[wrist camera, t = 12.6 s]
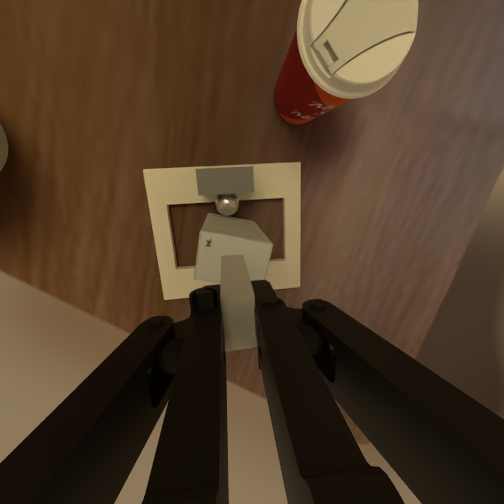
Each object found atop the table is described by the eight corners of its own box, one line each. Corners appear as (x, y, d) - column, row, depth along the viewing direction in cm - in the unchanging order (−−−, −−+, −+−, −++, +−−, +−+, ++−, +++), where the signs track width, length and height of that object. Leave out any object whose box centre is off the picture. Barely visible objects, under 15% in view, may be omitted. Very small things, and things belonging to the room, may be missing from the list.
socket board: (145, 169, 28) (127, 166, 23) (298, 162, 30) (314, 158, 24) (166, 296, 32) (154, 318, 27) (298, 284, 34) (311, 302, 29)
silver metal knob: (212, 172, 27) (211, 171, 24) (236, 171, 27) (237, 170, 25) (216, 214, 28) (215, 217, 26) (239, 213, 28) (240, 216, 26)
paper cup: (292, 149, 29) (350, 119, 16) (250, 92, 27) (276, 2, 14) (343, 102, 28) (450, 29, 15) (304, 40, 26) (388, -109, 13)
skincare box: (203, 244, 31) (190, 280, 20) (208, 211, 30) (198, 228, 19) (249, 252, 32) (263, 290, 21) (255, 220, 31) (274, 242, 20)
